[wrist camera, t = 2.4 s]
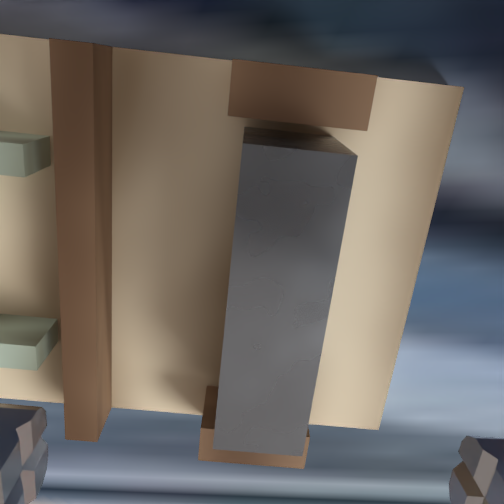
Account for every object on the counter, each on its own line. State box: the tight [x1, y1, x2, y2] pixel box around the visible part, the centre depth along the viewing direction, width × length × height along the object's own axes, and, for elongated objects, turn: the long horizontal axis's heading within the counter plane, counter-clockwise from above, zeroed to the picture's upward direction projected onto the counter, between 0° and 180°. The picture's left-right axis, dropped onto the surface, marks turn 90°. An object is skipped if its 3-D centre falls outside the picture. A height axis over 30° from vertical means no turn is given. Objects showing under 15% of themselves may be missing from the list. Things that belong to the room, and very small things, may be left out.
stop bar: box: [213, 127, 358, 456], centre depth 16 cm, size 10×3×4 cm, turn 174°
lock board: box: [0, 34, 464, 469], centre depth 17 cm, size 24×14×4 cm, turn 84°
